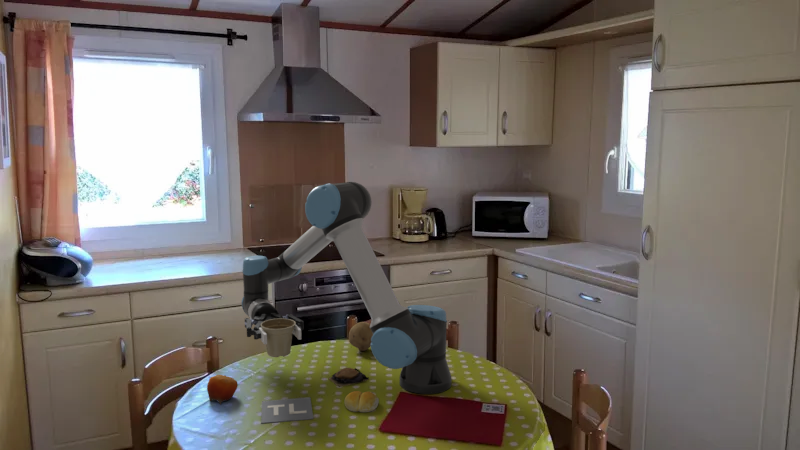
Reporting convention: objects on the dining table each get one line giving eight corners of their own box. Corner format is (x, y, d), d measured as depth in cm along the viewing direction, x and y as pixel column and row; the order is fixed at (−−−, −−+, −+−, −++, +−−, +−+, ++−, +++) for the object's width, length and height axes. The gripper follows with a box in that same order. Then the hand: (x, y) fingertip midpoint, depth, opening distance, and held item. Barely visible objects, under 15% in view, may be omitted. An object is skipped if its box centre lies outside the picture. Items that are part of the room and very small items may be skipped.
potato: (365, 357, 200) (365, 328, 199) (343, 352, 205) (342, 323, 203) (380, 349, 208) (380, 320, 207) (358, 344, 212) (358, 316, 211)
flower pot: (293, 360, 164) (292, 329, 163) (257, 359, 164) (256, 328, 163) (298, 348, 174) (298, 318, 172) (265, 347, 174) (264, 318, 172)
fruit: (196, 400, 164) (204, 370, 167) (212, 404, 171) (220, 375, 174) (221, 405, 161) (229, 374, 164) (237, 409, 168) (245, 379, 171)
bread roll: (349, 398, 169) (349, 385, 169) (381, 402, 167) (381, 388, 167) (339, 411, 162) (339, 397, 161) (372, 415, 159) (372, 400, 159)
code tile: (261, 423, 154) (261, 422, 154) (262, 401, 167) (262, 400, 167) (313, 419, 157) (313, 417, 157) (310, 397, 169) (310, 396, 169)
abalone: (339, 389, 176) (339, 377, 176) (326, 379, 184) (326, 367, 183) (371, 382, 182) (371, 370, 181) (358, 372, 189) (358, 361, 188)
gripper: (298, 322, 189) (321, 345, 169) (227, 331, 180) (242, 356, 160) (297, 298, 188) (321, 318, 168) (226, 306, 179) (242, 328, 159)
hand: (282, 337), depth 164 cm, fingers closed on flower pot, 9 cm apart
